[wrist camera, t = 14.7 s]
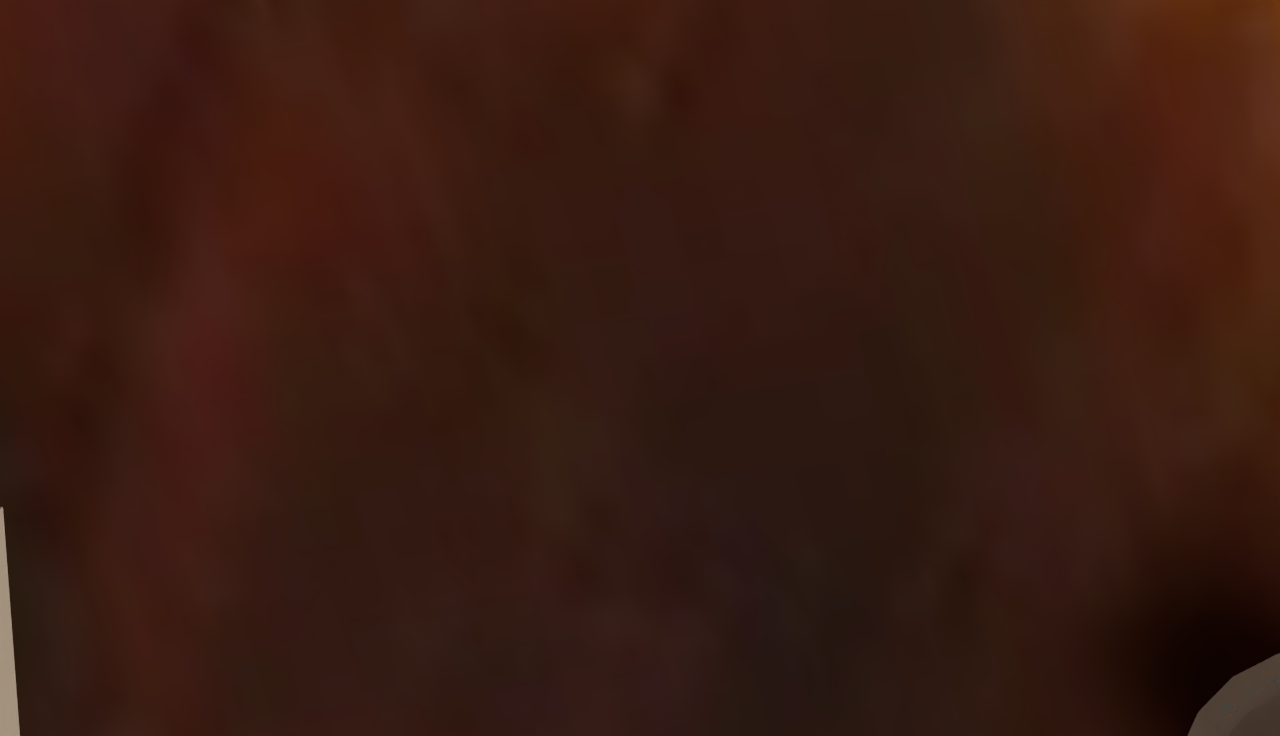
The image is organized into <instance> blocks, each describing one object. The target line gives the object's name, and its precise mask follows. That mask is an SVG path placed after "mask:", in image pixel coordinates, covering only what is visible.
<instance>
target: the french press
mask: <svg viewBox="0 0 1280 736" xmlns="http://www.w3.org/2000/svg"><path fill="white" fill-rule="evenodd" d="M1188 736H1280V653H1279V654H1276V655H1274V656H1272V657H1270V658H1269V659H1267V660H1265V661H1263V662H1261V663H1259V664H1257V665H1255V666H1253V667H1251V668H1249V669H1247V670H1245V671H1243V672H1241V673H1239V674H1237V675H1235V676H1233V677H1232V678H1231V679H1230V680H1229V681H1228V682H1227V683H1226V684H1225V685H1224V686H1223V687H1222V688H1221V689H1220V690H1219V691H1218V692H1217V693H1216V694H1215V695H1214V696H1213V697H1212V698H1211V699H1210V701H1209V702H1208V703H1207V704H1206V705H1205V706H1204V707H1203V708H1202V709H1201V710H1200V711H1199V712H1198V714H1197V716H1196V718H1195V720H1194V722H1193V725H1192V727H1191V729H1190V731H1189V734H1188Z"/></svg>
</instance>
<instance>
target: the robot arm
mask: <svg viewBox="0 0 1280 736" xmlns="http://www.w3.org/2000/svg"><path fill="white" fill-rule="evenodd" d="M0 736H20V732H19V719H18V705H17V692H16V678H15V665H14V651H13V638H12V624H11V611H10V597H9V584H8V570H7V556H6V543H5V529H4V516H3V507H0Z"/></svg>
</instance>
